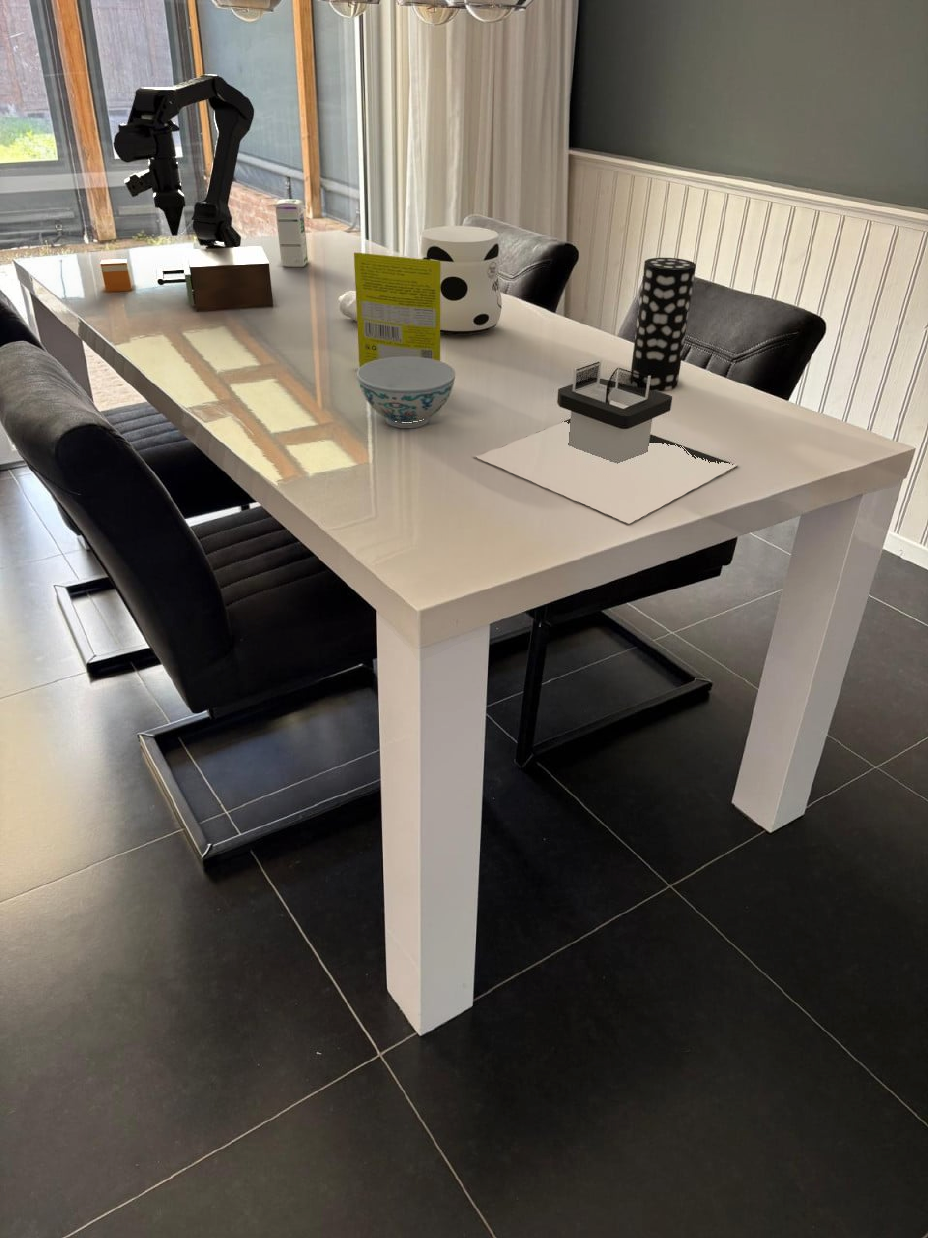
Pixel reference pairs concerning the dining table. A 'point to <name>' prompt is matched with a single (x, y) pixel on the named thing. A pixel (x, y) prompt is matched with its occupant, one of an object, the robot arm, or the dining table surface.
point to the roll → (348, 305)
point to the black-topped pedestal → (615, 415)
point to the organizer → (230, 278)
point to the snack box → (116, 275)
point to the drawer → (179, 279)
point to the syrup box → (291, 233)
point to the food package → (397, 307)
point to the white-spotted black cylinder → (662, 321)
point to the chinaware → (406, 388)
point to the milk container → (465, 276)
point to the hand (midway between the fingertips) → (174, 235)
